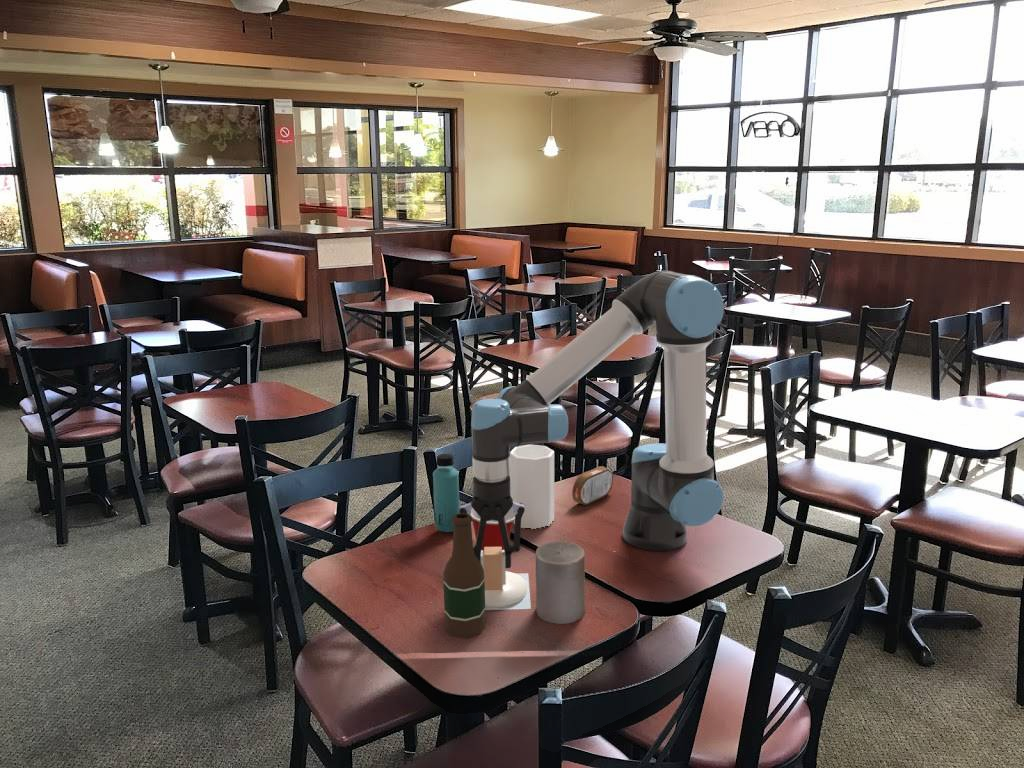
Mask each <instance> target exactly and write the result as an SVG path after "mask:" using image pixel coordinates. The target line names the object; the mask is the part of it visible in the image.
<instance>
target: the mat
mask: <svg viewBox="0 0 1024 768" xmlns="http://www.w3.org/2000/svg"><path fill="white" fill-rule="evenodd" d="M517 574H518V575H519V576H521V577H522V578H524V580H525V581H526V583H527V594H526V596H525V598H524V599H523V600H521V601H520V602H518V603H516V604H514V605H511V606H508V607H503V608H485V611H501V610H502V611H503V610H505V611H508V610H510V611H511V610H512V611H513V610H531V609H532V604H531V592H530V580H529V579H530V578H529V577H530V576H529V573H528V572H527V573H523V572H521V573H517Z"/></svg>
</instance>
